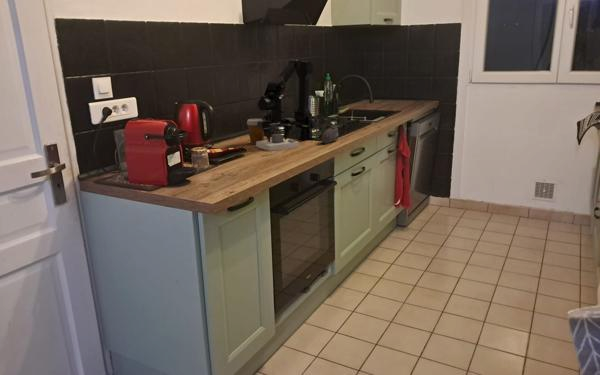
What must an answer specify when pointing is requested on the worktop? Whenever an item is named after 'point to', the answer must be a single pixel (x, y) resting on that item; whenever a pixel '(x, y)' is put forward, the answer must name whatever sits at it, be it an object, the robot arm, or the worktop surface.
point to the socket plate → (277, 144)
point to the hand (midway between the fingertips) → (277, 140)
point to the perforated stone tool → (330, 135)
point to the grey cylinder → (277, 138)
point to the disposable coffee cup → (255, 131)
